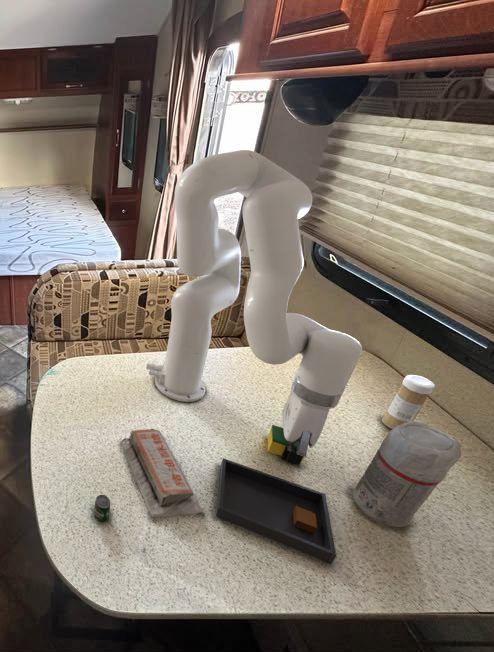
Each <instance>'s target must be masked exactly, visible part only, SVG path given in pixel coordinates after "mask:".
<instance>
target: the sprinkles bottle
mask: <svg viewBox="0 0 494 652" xmlns="http://www.w3.org/2000/svg"><path fill="white" fill-rule="evenodd" d="M435 387H436V385H435V384H434V382H433V381H431V380H430V379H428V378H426V377H424V376H421V375H418V374H417V375H416V374H407V375H406V376H405V377H404V379H403V380H402V384H401V386H400V388H399V390H398V392H397V393H396V395H395V397H394V398H393V399H392V402H391V404H390V406H389V407H388V409H387V412H386V413H385V415H384V417H382V419H381V420H382V424H384V425H385V426H386V427H388V428H389V429H391V430H392V429H393V428H394V427H396V426H398V425H401V424H403V423H407V422H409V421H415V419H416V418H417V416H418V415H419V413H420V411H421V408H422V407H423V405H424V404H425V402H426V401H427V399H428V397H429V396H430V395H431V394H432V393H433V392H434V390H435Z"/></svg>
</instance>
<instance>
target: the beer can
mask: <svg viewBox="0 0 494 652" xmlns="http://www.w3.org/2000/svg"><path fill="white" fill-rule="evenodd" d="M110 513H111V499H110V498H109V497H108V496H107V495H105V494H99V495H97V496H96V497H95V501H94V510H93V515H94V518H95V519H96V520H97V521H98V522H100V523H106V522H107V521H109V518H110Z"/></svg>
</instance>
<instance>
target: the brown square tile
mask: <svg viewBox="0 0 494 652" xmlns="http://www.w3.org/2000/svg"><path fill="white" fill-rule="evenodd" d="M293 521H294V526H296V527H298V528H300V529H303V530H305V531H308V532H310V533H313V534H314V533H315V531H316V529H317V522H316V514H315V513H313V512H310V511H307V510H305V509H302V508H299V507H297V506H295V508H294V510H293Z"/></svg>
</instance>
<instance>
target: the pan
mask: <svg viewBox="0 0 494 652" xmlns="http://www.w3.org/2000/svg"><path fill="white" fill-rule="evenodd" d="M216 500H217V501H216V512H215V516H216V518H219V519H221V520H223V521H226V522H229V523H231V524H232V525H235V526H238V527H239V528H243V529H245V530H248V531H250V532H252V533H255V534H257V535H260V536H262V537H264V538H267V539H269V540H272V541H273V542H276V543H279V544H281V545H284V546H286V547H288V548H291V549H293V550H296V551H298V552H300V553H303V554H305V555H306V556H310V557H312V558H315V559H317V560H319V561H321V562H324V563H327V564H329V565H332V564H333V562H334V560H335V559H336V557H337V552H336V547H335V546H336V545H335V541H334V535H333V530H332V524H331V518H330V513H329V512H330V511H329V506H328V501H327V496H326V493H323V492H321V491H318V490H315V489H312V488H309V487H308V486H307V487H306V486H304V485H301V484H298V483H295V482H293V481H290V480H287V479H284V478H281V477H278V476H275V475H273V474H270V473H266V472H263V471H261V470H259V469H255V468H253V467H250V466H246V465H244V464H241V463H239V462H235V461H233V460H229V459H227V458H224V457H223V458H222V460H221V462H220V466H219V477H218V489H217V499H216ZM295 506H297V507H299V508H302V509H305V510H307V511H310V512H313V513H315V514H316V522H317V529H316V531H315V533H314V534H313V533H310V532H308V531H305V530H303V529H300V528H298V527H296V526H294V521H293V510H294V508H295Z"/></svg>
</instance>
